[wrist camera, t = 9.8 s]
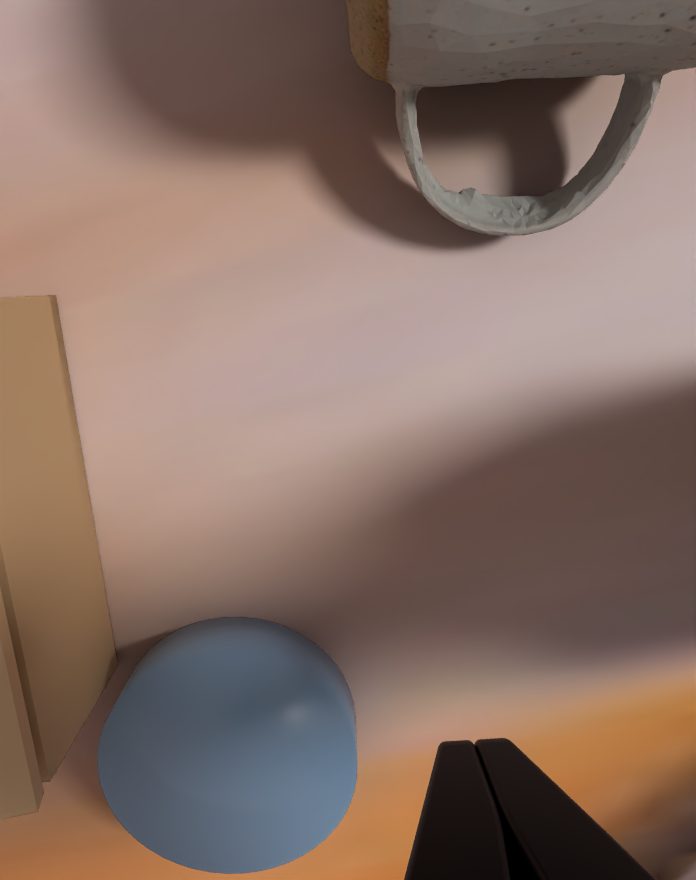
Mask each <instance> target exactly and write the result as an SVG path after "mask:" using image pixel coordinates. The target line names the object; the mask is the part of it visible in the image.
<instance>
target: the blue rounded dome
mask: <svg viewBox="0 0 696 880" xmlns="http://www.w3.org/2000/svg"><path fill="white" fill-rule="evenodd" d="M97 766H98V775H99V780H100V784H101V788H102V791H103V794H104V796H105V798H106V801H107V803H108V805H109V807H110V809H111V810H112V812H113V813H114V815H115V817H116V818H117V819H118V821H119V822H120V823H121V824H122V826H123V827H124V828H125V829H126V830H127V831H128V832H129V833H130V834H131V835H132V836H133V837H134V838H135V839H136V840H137V841H139V842H140V843H141V844H143V845H144V846H145V847H147V848H148V849H149V850H151V851H153V852H155V853H156V854H158V855H160V856H161V857H163V858H165V859H168V860H170V861H172V862H175V863H177V864H180V865H183V866H186V867H189V868H192V869H197V870H202V871H207V872H214V873H224V874H235V873H250V872H258V871H262V870H267V869H271V868H275V867H277V866H280V865H283V864H286V863H289V862H291V861H293V860H295V859H297V858H299V857H301V856H303V855H304V854H306V853H308V852H309V851H311V850H312V849H314V848H315V847H316V846H318V845H319V844H320V843H321V842H322V841H324V840H325V839H326V838H327V837H328V836H329V835H330V834H331V832H332V831H333V830H334V829H335V828H336V827H337V825H338V824H339V822H340V821H341V820H342V818H343V817H344V815H345V813H346V811H347V809H348V807H349V805H350V803H351V800H352V797H353V793H354V790H355V785H356V779H357V745H356V716H355V708H354V702H353V698H352V695H351V692H350V689H349V686H348V684H347V682H346V680H345V678H344V676H343V674H342V673H341V671H340V670H339V668H338V667H337V665H336V664H335V663H334V662H333V661H332V659H331V658H330V657H329V656H328V655H327V654H326V653H325V652H324V651H323V650H322V649H321V648H320V647H318V646H317V645H316V644H315V643H314V642H312V641H311V640H309V639H308V638H306V637H305V636H303V635H301V634H299V633H297V632H295V631H293V630H291V629H290V628H287V627H285V626H282V625H279V624H276V623H273V622H269V621H265V620H261V619H255V618H246V617H222V618H214V619H208V620H204V621H200V622H196V623H193V624H190V625H188V626H185V627H183V628H180V629H178V630H176V631H175V632H173V633H171V634H169V635H167V636H166V637H164V638H163V639H162V640H160V641H159V642H157V643H156V644H155V645H154V646H153V647H152V648H151V649H150V650H149V651H148V652H147V653H146V654H144V656H143V657H142V658H141V660H140V661H139V662H138V664H137V665H136V666H135V668H134V670H133V672H132V673H131V675H130V677H129V679H128V681H127V683H126V684H125V686H124V688H123V690H122V692H121V694H120V696H119V697H118V699H117V701H116V703H115V705H114V707H113V709H112V710H111V712H110V714H109V716H108V718H107V720H106V722H105V724H104V727H103V730H102V733H101V736H100V741H99V746H98V756H97Z"/></svg>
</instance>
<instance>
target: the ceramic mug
mask: <svg viewBox="0 0 696 880" xmlns="http://www.w3.org/2000/svg"><path fill="white" fill-rule="evenodd" d="M346 6H347V16H348V24H349V37H350V46H351V53H352V55H353V57H354V59H355V61H356V63H357V64H358V66H359V67H360V68H361V69H362V70H364V71H365V72H366V73H367V74H368V75H369V76H371V77H372V78H373V79H375V80H379V81H383V82H386V83H390V84H391V85H392V87H393V88H394V90H395V91H396V96H395V99H396V110H395V113H396V120H397V126H398V131H399V135H400V140H401V144H402V147H403V151H404V154H405V157H406V161H407V164H408V167H409V170H410V172H411V175H412V177H413V180H414V181H415V183H416V185H417V187H418V189H419V190H420V192H421V193H422V194H423V196H424V197H425V199H426V200H427V201H428V203H429V204H430V205H431V206H432V207H434V208H435V209H436V210H437V211H438V212H439V213H440V214H441V215H442V216H443V217H445V218H447V219H448V220H450V221H451V222H453V223H455V224H456V225H458V226H460V227H462V228H464V229H466V230H471V231H476V232H478V233H480V234H488V235H528V234H532V233H537V232H541V231H546V230H550V229H553V228H555V227H557V226H560V225H562V224H564V223H565V222H567V221H569V220H571V219H573V218H574V217H575V216H577V215H578V214H579V213H581V212H582V211H583V210H585V209H586V208H587V207H588V206H589V205H590V204H591V203H592V202H593V201H594V200H595V199H597V198H598V197H599V196H600V195H601V194H602V193H603V192H604V191H605V190H606V189H607V188H608V186H609V185H610V184H611V182H612V181H613V179H614V178H615V177H616V176H617V175H618V174H619V172H620V171H621V169H622V168H623V166H624V164H625V163H626V161H627V159H628V158H629V156H630V154H631V153H632V151H633V149H634V148H635V146H636V144H637V142H638V140H639V138H640V136H641V133H642V131H643V129H644V126H645V124H646V122H647V119H648V117H649V115H650V113H651V110H652V107H653V103H654V100H655V98H656V95H657V93H658V91H659V88H660V83H661V79H662V76H663V75H665V74H667V73H669V72H671V71H673V70H680V69H687V68H694V67H696V0H346ZM620 74H625V81H624V84H623V86H622V90H621V93H620V97H619V100H618V103H617V106H616V109H615V111H614V113H613V116H612V118H611V121H610V123H609V125H608V127H607V129H606V131H605V133H604V135H603V137H602V139H601V141H600V142H599V144H598V146H597V148H596V150H595V152H594V154H593V155H592V156H591V158H590V159H589V160H588V161H587V163H586V164H585V166H584V167H583V168H582V169H581V170H580V171H579V173H578V175H576V176H575V177H574V178H572V179H571V180H570V181H569V182H568V183H567V184H566V185H564V186H563V187H561V188H559V189H558V190H554V191H549V192H548V193H546V194H544V195H542V196H493V195H485V194H480V193H479V192H478V191H477V190H476V189H473V188H468V189H463V190H462V191H460V192H459V193H456V192H453V191H448V190H446V189H445V188H443V187H442V186H441V185H440V183H439V182H438V181H437V179H436V178H435V176H434V175H433V174H432V172H431V171H430V170H429V168H428V167H427V166H426V165H425V163H424V160H423V153H422V148H421V143H420V138H419V133H418V128H417V111H416V105H415V103H416V99H417V95H418V91H419V90H420V89H421V88H423V87H442V86H453V85H463V84H476V83H491V82H500V81H503V80H509V79H527V78H566V77H592V76H598V75H620Z"/></svg>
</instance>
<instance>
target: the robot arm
mask: <svg viewBox="0 0 696 880" xmlns="http://www.w3.org/2000/svg"><path fill="white" fill-rule="evenodd" d="M404 880H656V879H655V878H654V877H653V876H652V875H651V874H650V873H649V872H648V871H647V870H646V869H645V868H644V867H643V866H642V865H641V864H640V863H639V862H638V861H636V860H635V859H634V858H633V857H632V856H631V855H630V854H629V853H628V852H627V851H626V850H625V849H624V848H623V847H622V846H621V845H620V844H619V843H618V842H616V841H615V840H614V839H613V838H612V837H611V836H610V835H609V834H608V833H607V832H606V831H605V830H604V829H603V828H602V827H601V826H600V825H599V824H598V823H597V822H595V821H594V820H593V819H592V818H591V817H590V816H589V815H588V814H587V813H586V812H585V811H584V810H583V809H582V808H581V807H580V806H579V805H578V804H577V803H575V802H574V801H573V800H572V799H571V798H570V797H569V796H568V795H567V794H566V793H565V792H564V791H563V790H562V789H561V788H560V787H559V786H558V785H557V784H555V783H554V782H553V781H552V780H551V779H550V778H549V777H548V776H547V775H546V774H545V773H544V772H543V771H542V770H541V769H540V768H539V767H538V766H537V765H535V764H534V763H533V762H532V761H531V760H530V759H529V758H528V757H527V756H526V755H525V754H524V753H523V752H522V751H521V750H520V749H519V748H518V747H517V746H516V745H514V744H513V743H512V742H511V741H510V740H508V739H506V738H495V739H480V740H477V741H476V742H475V744H473V743H472V742H471V741H469V740H462V741H445V742H442V743H441V744H440V745H439V747H438V750H437V754H436V758H435V762H434V766H433V770H432V774H431V778H430V781H429V785H428V789H427V793H426V797H425V801H424V805H423V809H422V812H421V816H420V820H419V824H418V828H417V832H416V836H415V840H414V844H413V847H412V851H411V855H410V859H409V863H408V867H407V871H406V875H405V878H404Z"/></svg>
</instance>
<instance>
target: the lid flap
mask: <svg viewBox="0 0 696 880" xmlns="http://www.w3.org/2000/svg"><path fill="white" fill-rule="evenodd" d="M43 794H44V791H43V786H42V782H41V777H40V772H39V768H38V763H37V758H36V753H35V749H34V744H33V739H32V735H31V730H30V725H29V720H28V716H27V711H26V706H25V701H24V697H23V692H22V687H21V683H20V678H19V673H18V668H17V664H16V659H15V654H14V650H13V645H12V640H11V635H10V631H9V626H8V621H7V617H6V612H5V607H4V602H3V598H2V593H1V588H0V820H1V819H5V818H10V817H15V816H20V815H24V814H29V813H34V812H38V809H39V806H40V803H41V800H42V797H43Z"/></svg>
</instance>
